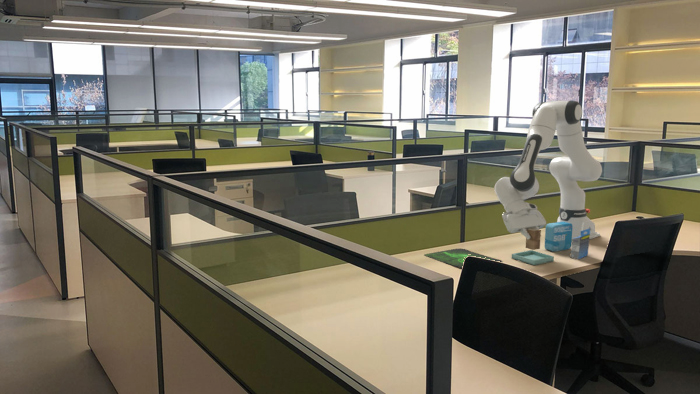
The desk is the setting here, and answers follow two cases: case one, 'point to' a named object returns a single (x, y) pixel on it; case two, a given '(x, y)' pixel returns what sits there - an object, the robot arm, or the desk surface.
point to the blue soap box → (558, 236)
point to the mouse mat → (455, 256)
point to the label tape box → (580, 245)
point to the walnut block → (533, 239)
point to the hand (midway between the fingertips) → (534, 237)
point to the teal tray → (532, 257)
